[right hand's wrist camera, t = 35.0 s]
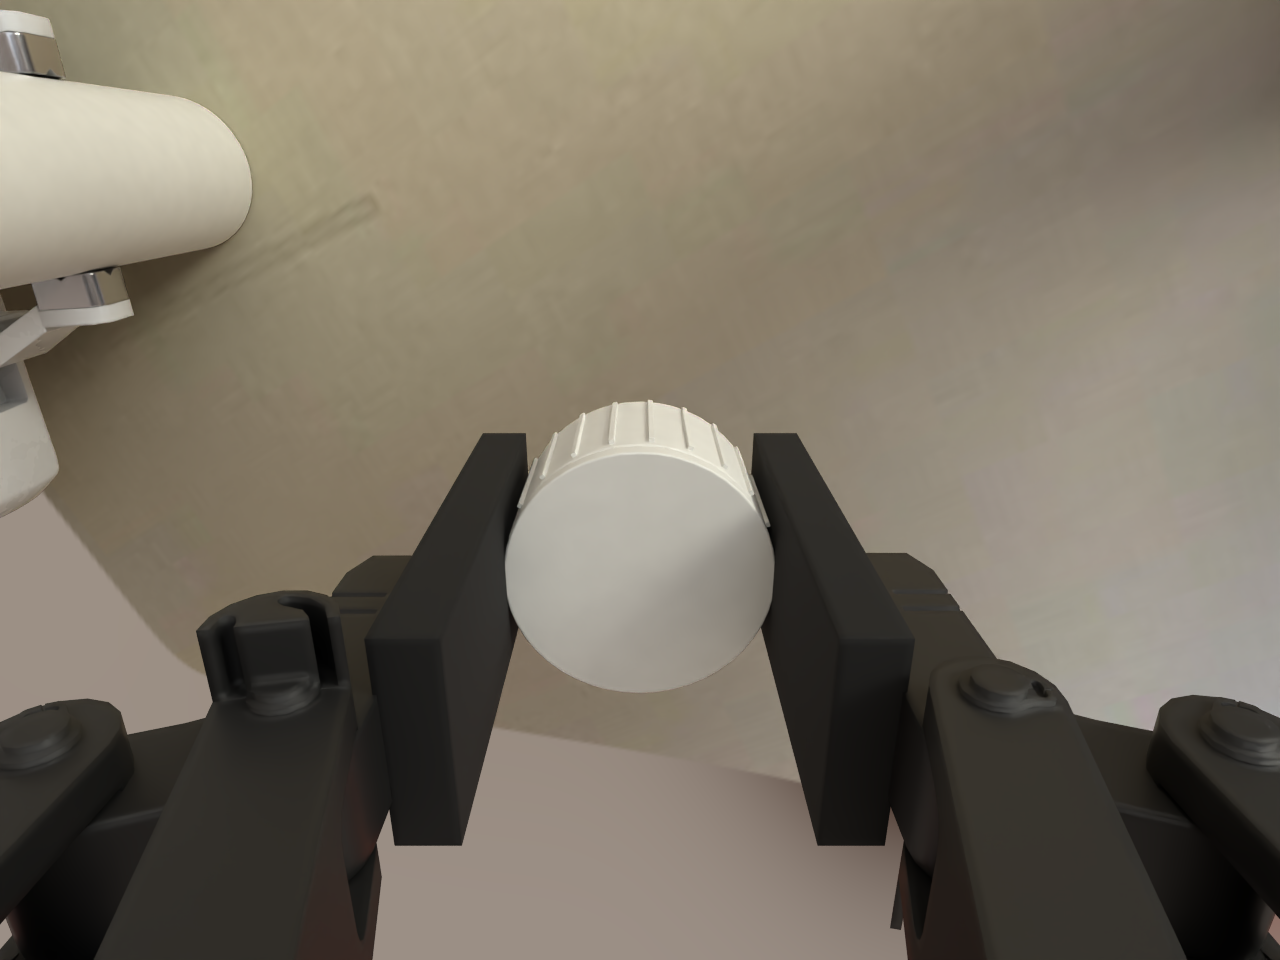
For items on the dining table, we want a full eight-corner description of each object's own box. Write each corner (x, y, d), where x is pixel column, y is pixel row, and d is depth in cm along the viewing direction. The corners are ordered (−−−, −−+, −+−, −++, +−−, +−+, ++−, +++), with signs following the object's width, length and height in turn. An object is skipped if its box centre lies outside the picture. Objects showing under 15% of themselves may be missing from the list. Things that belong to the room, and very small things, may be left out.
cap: (478, 529, 15) (445, 603, 12) (617, 348, 13) (611, 390, 11) (659, 648, 15) (662, 739, 13) (804, 489, 14) (837, 556, 12)
